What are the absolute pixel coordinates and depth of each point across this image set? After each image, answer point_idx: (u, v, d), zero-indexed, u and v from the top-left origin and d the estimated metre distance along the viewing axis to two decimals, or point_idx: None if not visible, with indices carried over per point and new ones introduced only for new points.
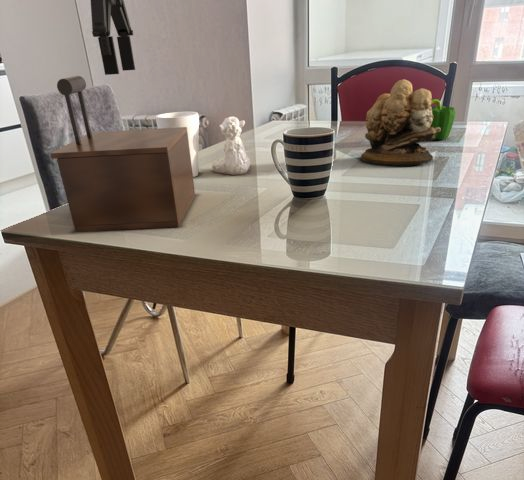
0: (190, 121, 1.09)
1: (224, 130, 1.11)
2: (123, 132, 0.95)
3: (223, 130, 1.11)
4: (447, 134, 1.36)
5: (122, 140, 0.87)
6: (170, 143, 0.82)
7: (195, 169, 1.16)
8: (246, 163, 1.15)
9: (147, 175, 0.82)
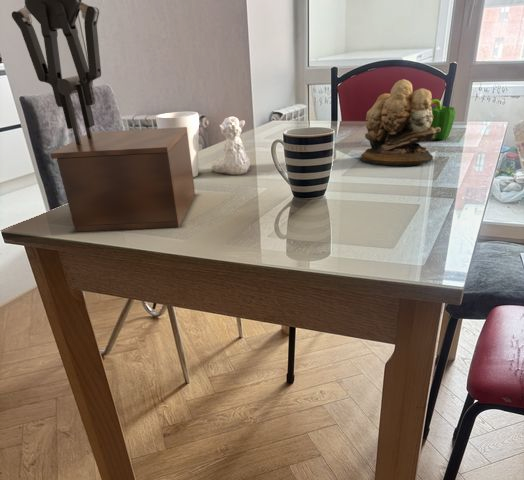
0: (190, 121, 1.09)
1: (224, 130, 1.11)
2: (123, 132, 0.95)
3: (223, 130, 1.11)
4: (447, 134, 1.36)
5: (122, 140, 0.87)
6: (170, 143, 0.82)
7: (195, 169, 1.16)
8: (246, 163, 1.15)
9: (147, 175, 0.82)
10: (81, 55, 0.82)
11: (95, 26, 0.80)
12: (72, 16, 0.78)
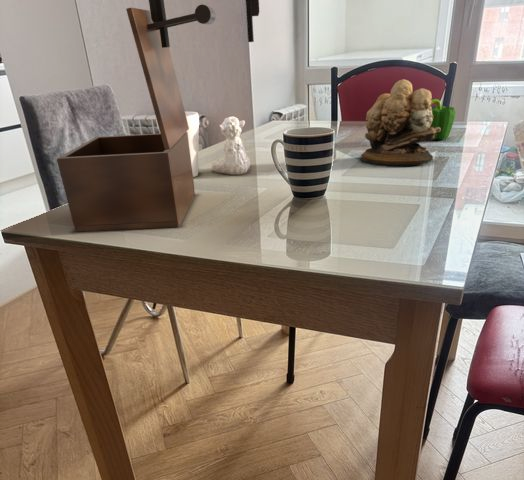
0: (190, 121, 1.09)
1: (224, 130, 1.11)
2: (169, 60, 0.88)
3: (223, 130, 1.11)
4: (447, 134, 1.36)
5: (163, 78, 0.82)
6: None
7: (195, 169, 1.16)
8: (246, 163, 1.15)
9: (147, 175, 0.82)
10: None
11: None
12: None
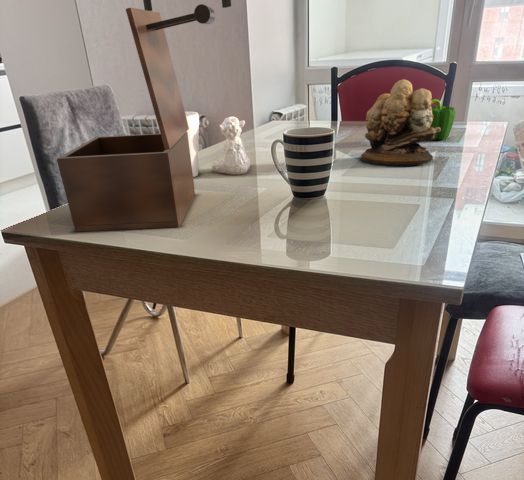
0: (190, 121, 1.09)
1: (224, 130, 1.11)
2: (169, 60, 0.88)
3: (223, 130, 1.11)
4: (447, 134, 1.36)
5: (162, 78, 0.82)
6: None
7: (195, 169, 1.16)
8: (246, 163, 1.15)
9: (147, 175, 0.82)
10: None
11: None
12: None
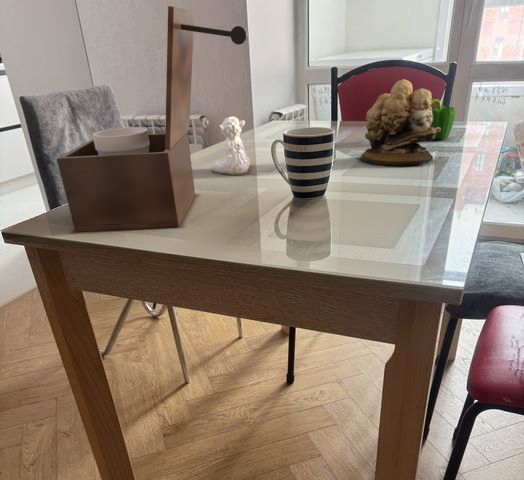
0: (136, 141, 0.85)
1: (224, 130, 1.11)
2: (190, 60, 0.88)
3: (223, 130, 1.11)
4: (447, 134, 1.36)
5: (181, 78, 0.82)
6: None
7: None
8: (246, 163, 1.15)
9: (147, 175, 0.82)
10: None
11: None
12: None
